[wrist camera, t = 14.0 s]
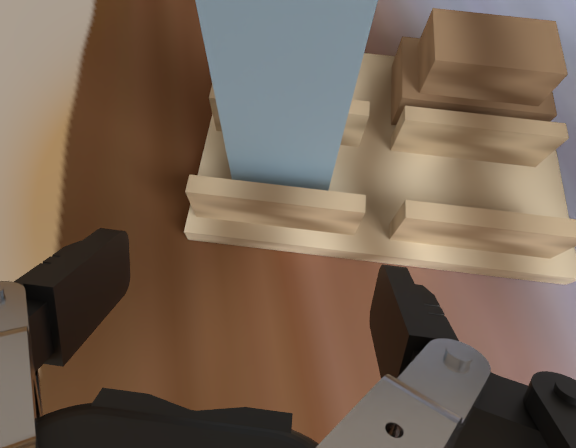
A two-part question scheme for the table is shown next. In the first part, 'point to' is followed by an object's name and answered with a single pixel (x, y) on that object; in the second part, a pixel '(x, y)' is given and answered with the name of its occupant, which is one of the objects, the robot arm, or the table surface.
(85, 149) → the table surface
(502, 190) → the maple rack
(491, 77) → the upper walnut offcut
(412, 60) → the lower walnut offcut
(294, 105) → the slate-blue rectangular block
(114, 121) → the table surface
